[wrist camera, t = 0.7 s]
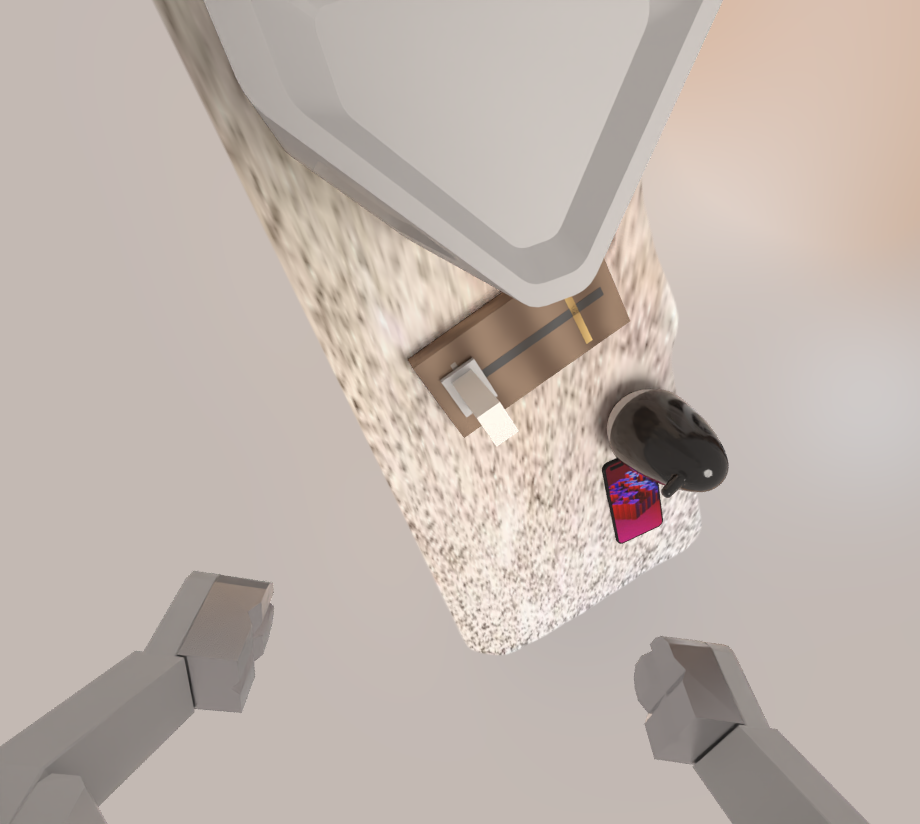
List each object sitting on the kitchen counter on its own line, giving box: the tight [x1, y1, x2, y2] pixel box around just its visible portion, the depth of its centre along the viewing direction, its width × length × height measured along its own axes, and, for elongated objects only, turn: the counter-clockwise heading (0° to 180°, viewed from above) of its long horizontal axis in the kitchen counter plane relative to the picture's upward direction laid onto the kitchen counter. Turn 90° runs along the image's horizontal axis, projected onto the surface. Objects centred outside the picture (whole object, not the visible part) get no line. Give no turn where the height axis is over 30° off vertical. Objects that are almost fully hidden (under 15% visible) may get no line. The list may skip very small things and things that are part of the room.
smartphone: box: [602, 458, 663, 544], centre depth 68 cm, size 8×1×15 cm
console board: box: [408, 259, 630, 438], centre depth 52 cm, size 22×10×3 cm, turn 122°
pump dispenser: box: [607, 389, 728, 498], centre depth 55 cm, size 10×10×15 cm
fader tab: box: [440, 357, 518, 446], centre depth 46 cm, size 4×5×9 cm
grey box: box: [203, 0, 723, 307], centre depth 31 cm, size 19×15×28 cm
